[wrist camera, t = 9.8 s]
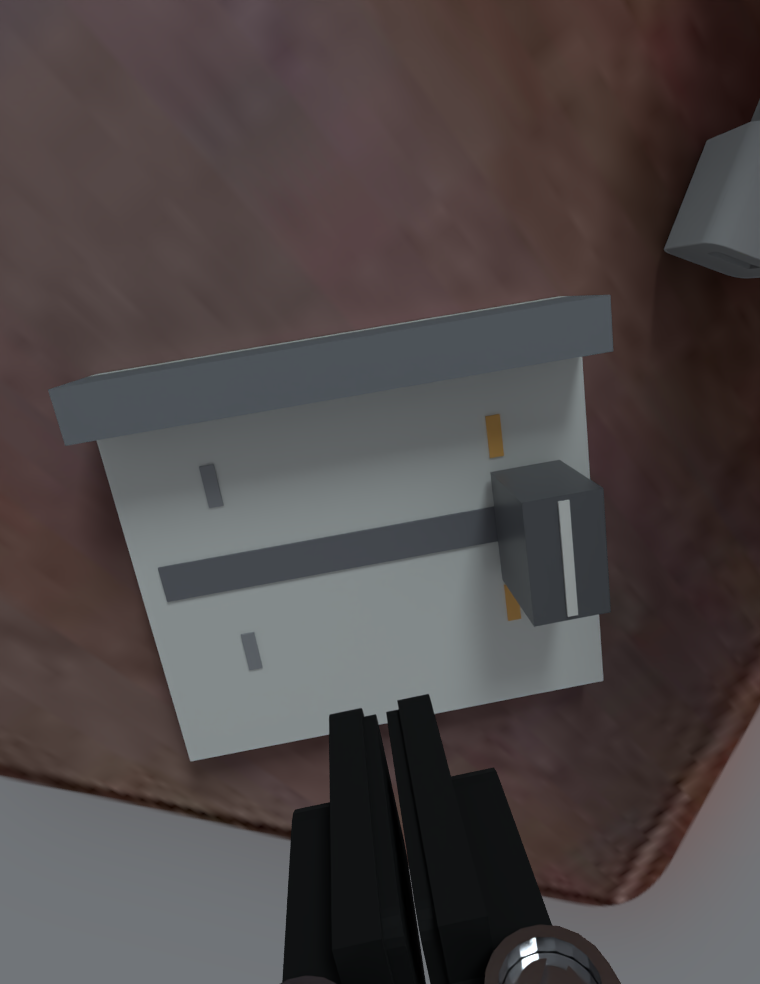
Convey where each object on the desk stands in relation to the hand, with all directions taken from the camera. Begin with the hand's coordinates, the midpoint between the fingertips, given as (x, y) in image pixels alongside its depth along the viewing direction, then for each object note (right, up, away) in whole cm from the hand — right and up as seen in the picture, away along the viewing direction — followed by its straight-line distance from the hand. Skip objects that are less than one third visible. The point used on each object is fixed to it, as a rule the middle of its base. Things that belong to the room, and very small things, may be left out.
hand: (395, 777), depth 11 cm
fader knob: (+6, +3, +17) cm, 19 cm away
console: (-1, +3, +20) cm, 20 cm away
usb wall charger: (+15, +18, +17) cm, 29 cm away
